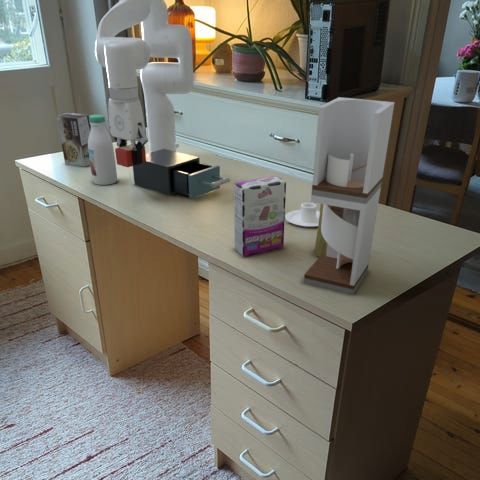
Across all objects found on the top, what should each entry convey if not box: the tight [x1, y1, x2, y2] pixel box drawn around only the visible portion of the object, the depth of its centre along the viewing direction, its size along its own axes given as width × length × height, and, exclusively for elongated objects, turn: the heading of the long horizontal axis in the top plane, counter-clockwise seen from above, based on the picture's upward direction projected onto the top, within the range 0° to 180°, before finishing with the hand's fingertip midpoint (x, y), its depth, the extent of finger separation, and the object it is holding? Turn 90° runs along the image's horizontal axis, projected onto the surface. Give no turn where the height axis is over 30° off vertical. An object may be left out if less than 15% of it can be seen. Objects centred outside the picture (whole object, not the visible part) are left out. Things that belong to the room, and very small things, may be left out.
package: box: [114, 143, 147, 168], centre depth 147 cm, size 5×7×4 cm, turn 141°
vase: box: [313, 204, 327, 258], centre depth 118 cm, size 6×6×14 cm
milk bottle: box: [88, 114, 118, 186], centre depth 160 cm, size 8×8×20 cm
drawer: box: [170, 161, 231, 200], centre depth 155 cm, size 21×12×7 cm, turn 51°
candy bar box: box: [233, 175, 287, 258], centre depth 119 cm, size 11×5×16 cm, turn 117°
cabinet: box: [132, 149, 201, 196], centre depth 161 cm, size 16×14×9 cm
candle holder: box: [285, 202, 320, 227], centre depth 138 cm, size 12×12×4 cm
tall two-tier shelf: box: [303, 96, 396, 296], centre depth 102 cm, size 11×11×35 cm
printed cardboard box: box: [56, 112, 91, 167], centre depth 178 cm, size 9×6×16 cm
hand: (131, 161), depth 148 cm, fingers closed on package, 4 cm apart
